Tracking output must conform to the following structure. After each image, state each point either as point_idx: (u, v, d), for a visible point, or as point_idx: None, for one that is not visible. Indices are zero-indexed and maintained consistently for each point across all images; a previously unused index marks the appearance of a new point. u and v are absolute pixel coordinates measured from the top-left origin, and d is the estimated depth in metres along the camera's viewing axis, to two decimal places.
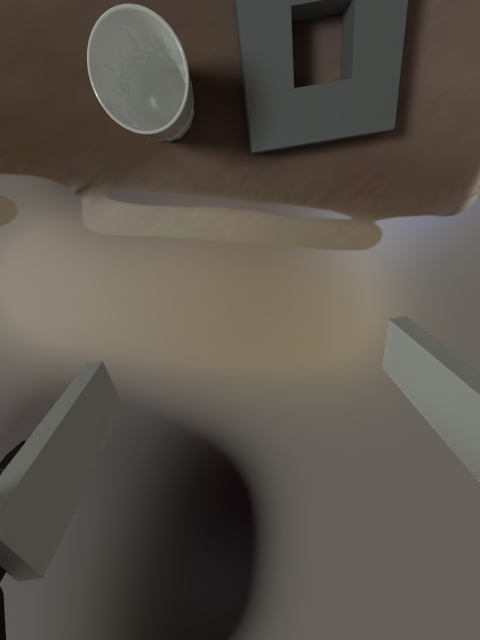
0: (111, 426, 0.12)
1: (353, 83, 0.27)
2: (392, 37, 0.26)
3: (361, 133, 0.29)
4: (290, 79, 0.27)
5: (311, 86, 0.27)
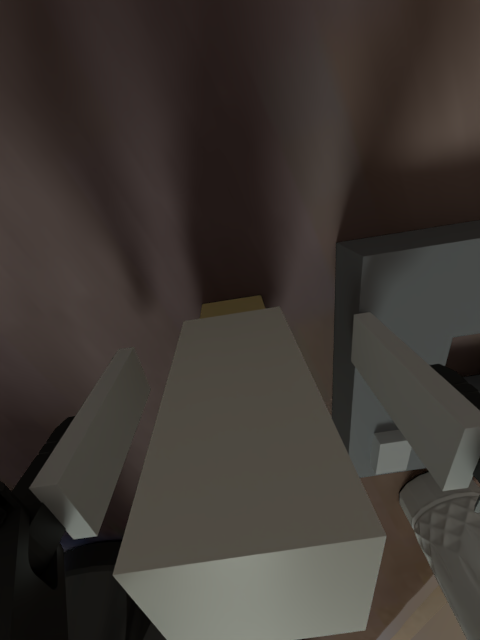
0: (142, 408, 0.13)
1: None
2: None
3: None
4: None
5: None
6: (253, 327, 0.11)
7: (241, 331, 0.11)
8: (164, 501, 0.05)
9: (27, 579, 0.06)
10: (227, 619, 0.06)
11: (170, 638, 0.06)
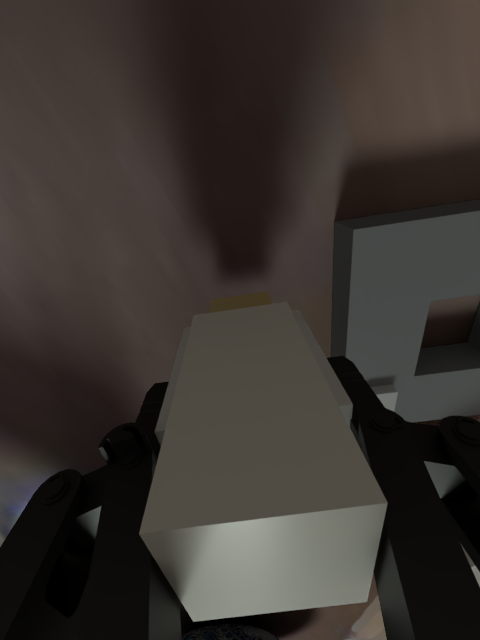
0: None
1: None
2: None
3: None
4: None
5: None
6: (261, 320, 0.11)
7: (250, 324, 0.11)
8: (183, 473, 0.06)
9: None
10: (239, 584, 0.06)
11: (185, 602, 0.06)
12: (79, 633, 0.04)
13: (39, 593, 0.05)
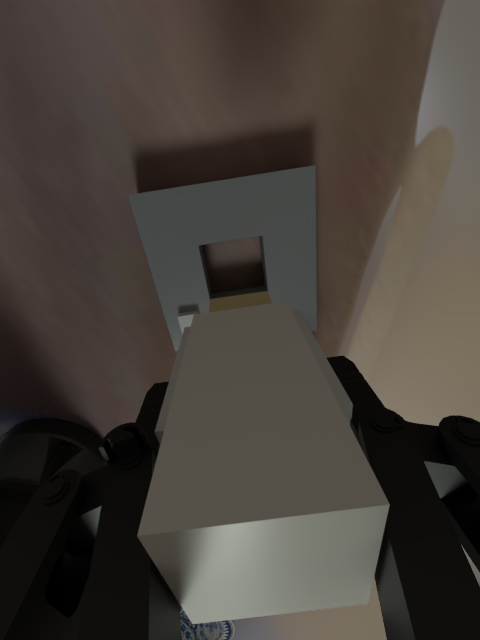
0: None
1: (266, 232, 0.24)
2: (228, 195, 0.23)
3: (315, 212, 0.24)
4: None
5: (267, 278, 0.26)
6: (261, 320, 0.11)
7: (250, 324, 0.11)
8: (182, 474, 0.06)
9: None
10: (239, 586, 0.06)
11: (184, 604, 0.06)
12: (79, 633, 0.04)
13: (39, 594, 0.05)
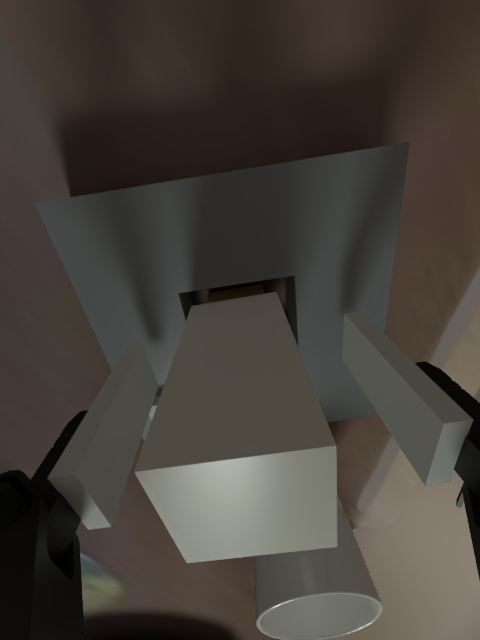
0: (150, 404, 0.13)
1: (303, 270, 0.13)
2: (232, 202, 0.12)
3: (395, 233, 0.13)
4: None
5: (299, 344, 0.15)
6: (251, 308, 0.12)
7: (241, 312, 0.12)
8: (172, 429, 0.07)
9: (46, 567, 0.06)
10: (222, 524, 0.07)
11: (178, 542, 0.07)
12: None
13: None
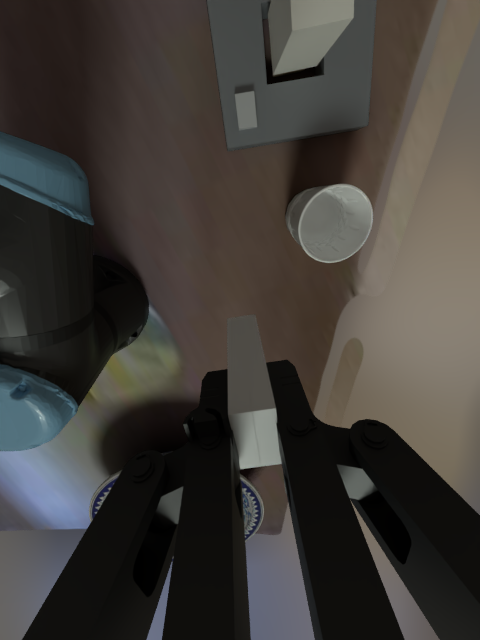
0: None
1: None
2: None
3: None
4: (316, 80, 0.28)
5: None
6: None
7: None
8: None
9: (234, 503, 0.06)
10: None
11: (292, 6, 0.19)
12: (169, 598, 0.05)
13: (128, 571, 0.06)
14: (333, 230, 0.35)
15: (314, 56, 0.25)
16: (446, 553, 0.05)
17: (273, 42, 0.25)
